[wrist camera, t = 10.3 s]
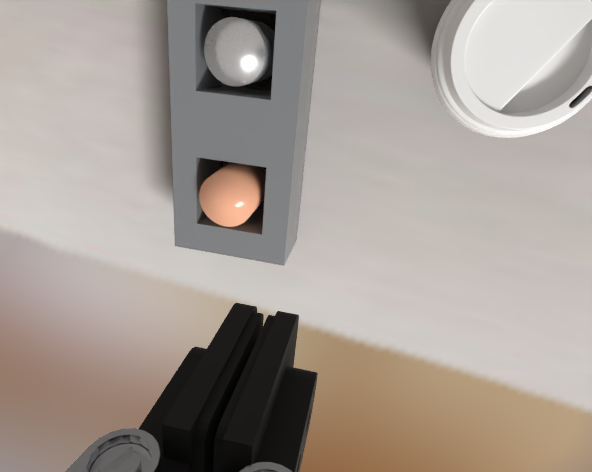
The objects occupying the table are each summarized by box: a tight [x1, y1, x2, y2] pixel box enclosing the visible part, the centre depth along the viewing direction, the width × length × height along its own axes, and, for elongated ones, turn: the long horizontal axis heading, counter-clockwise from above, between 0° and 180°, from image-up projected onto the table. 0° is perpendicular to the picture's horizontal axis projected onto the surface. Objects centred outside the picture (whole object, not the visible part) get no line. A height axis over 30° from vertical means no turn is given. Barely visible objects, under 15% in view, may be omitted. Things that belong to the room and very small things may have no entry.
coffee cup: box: [431, 0, 592, 138], centre depth 29 cm, size 10×10×15 cm
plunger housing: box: [167, 0, 321, 265], centre depth 39 cm, size 11×24×6 cm, turn 175°
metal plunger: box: [204, 17, 275, 86], centre depth 36 cm, size 5×5×6 cm
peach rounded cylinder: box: [199, 162, 266, 227], centre depth 40 cm, size 5×5×6 cm
